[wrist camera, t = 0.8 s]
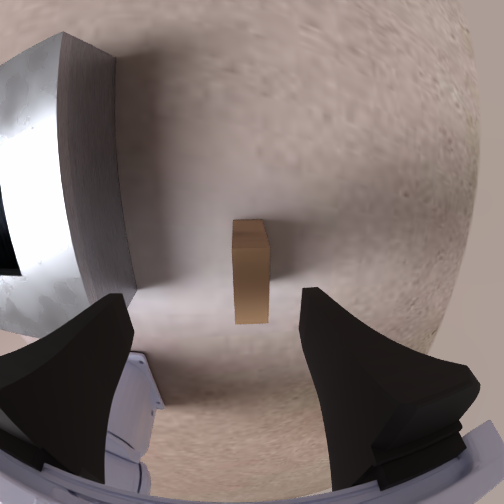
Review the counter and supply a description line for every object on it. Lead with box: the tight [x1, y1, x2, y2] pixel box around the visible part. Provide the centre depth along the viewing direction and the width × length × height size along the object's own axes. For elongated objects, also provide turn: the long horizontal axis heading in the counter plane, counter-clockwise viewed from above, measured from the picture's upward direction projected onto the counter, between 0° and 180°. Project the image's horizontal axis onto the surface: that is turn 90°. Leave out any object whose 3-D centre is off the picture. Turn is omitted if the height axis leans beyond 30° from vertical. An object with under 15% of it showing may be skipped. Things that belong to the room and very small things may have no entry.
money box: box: [0, 32, 137, 339], centre depth 14 cm, size 18×14×7 cm
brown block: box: [232, 219, 270, 324], centre depth 18 cm, size 5×2×5 cm, turn 0°
